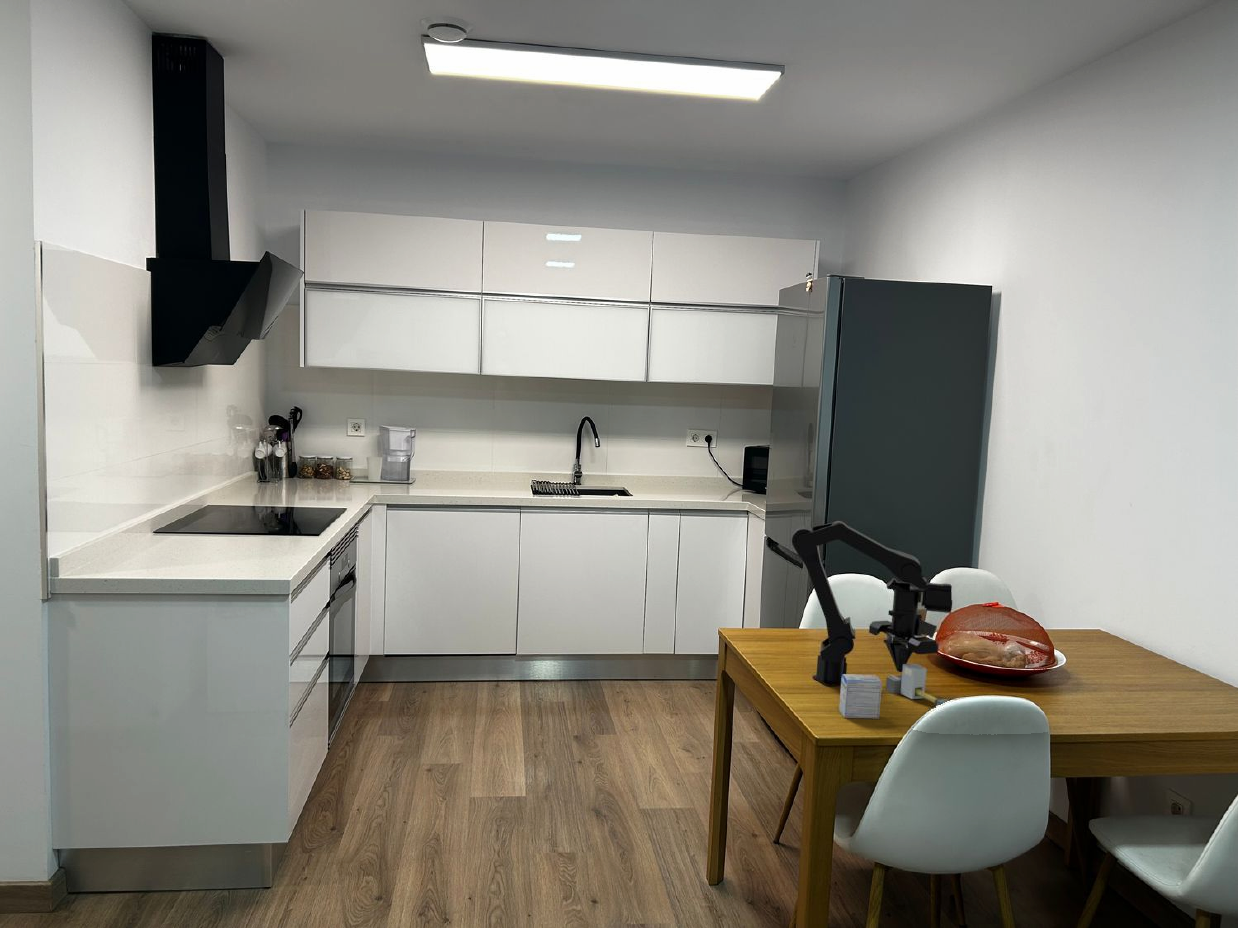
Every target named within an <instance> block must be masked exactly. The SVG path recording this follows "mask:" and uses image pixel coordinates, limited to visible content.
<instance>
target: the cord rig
mask: <svg viewBox="0 0 1238 928" xmlns="http://www.w3.org/2000/svg"><path fill="white" fill-rule="evenodd" d="M885 681H886V682H885V690H886V691H887V692H889V693H891V694H893V695H896V694H901V682H902V673H901V675H893V674H891V675H890V676H886V680H885ZM915 693H916V694H918V695H920V696H922V697H924V698H923V699H925V700H928V701H929V702H932V703H933V704H934V706H936V705H941V704H943V703H945V702H947V701H951V700H950V699H948V698H944V699H943V698H940V697H936V696H933V695H931V694H930V693H927V692H923V691H921V690H919V689H917V688H915Z"/></svg>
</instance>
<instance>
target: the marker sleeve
mask: <svg viewBox="0 0 1238 928" xmlns="http://www.w3.org/2000/svg"><path fill="white" fill-rule="evenodd" d="M901 674H902V682H901V693H900V694H901V695H903V696H904V697H907V698H908V699H910V700H915V699H916V700H917V699H925V698H924V697H922V696H920V695H918V694H916V693H915V688H917V689H919V690H921V691H923V692H925V690H926V682H927V668H926V667H924V666H922V665H920V664H917V663H915V662H913V663H907V664H903V671H902V672H901ZM925 693H926V692H925Z"/></svg>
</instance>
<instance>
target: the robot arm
mask: <svg viewBox="0 0 1238 928" xmlns="http://www.w3.org/2000/svg"><path fill="white" fill-rule="evenodd" d="M837 540H839V541H841V542H842V543H844V544H846V545H848V546H850V547H852V548H853V549H855V550H857V551H859V552H860V553H862V554H864V555H866V556H868V557H870V558H871V559H873V560H875V561H877V562H878V563H880V564H882V565H883V566H884V567H885V568H886V569H887V570H888V571H889V572H891V573H892V574H893V575H894V576H895V577H897V578H898V579H899V581H898V580H897V579H896V578H895V577H893V578H892V579H891V580H890V581H889V582H887V583H886V589H887V590H893V601H892V610H888V616H891V621H889V620H878V621H877V620H876V621H873V620H872V622H871V623H870V624H869V626H868V627H869V629H868V633H869V634H871V635H874V636H878V635H879V634H881V633H884V634H885V635H886V636H885V639H883V643H884V644H885V646H886V648H887V649H888V652H889V655H890V657H891V658H892V662H893V664H894V666H895V669H896V671H897V672H898V673H902V671H903V664H908V661H909V659H910V657H911V656H912V655H913V653H915V655H928V654H938V652H939V643H938V641H937V640H935V639H933V638H934V636H935V633H936V630H937V627H938V626H937V625H935V624H932V623H930V622H928V621H926V620H925V621H922V616H921V614H919V613H917V612H918V600H919V592H922V593H921V606H924V608H925V610H926V611H927V612H934V613H935V612H937V613H946V614H951V613H952V608H953V600H952V597H953V596H952V589H953V586H952V584H951V583H934V582H928V580H927V577H924V575H923V573H922V572H923V570H922V567H921V563H920V561H919V559H918V558H917V557H916V556H913V555H912V554H909V553H906V552H903V551H901V550H897V549H896V550H895V549H893V548H889V547H887V546H885V545H883V544H882V543H880V542H878V541H877V540H874V539H872V538H871V537H869V536H867V535H865V534H864V533H862V532H860V531H858V530H857V529H855V528H852V527H851V526H849V525H847V524H846V523H845V522H844V521H842V520H836V521H834V522H830V523H825V524H821V525H820V524H819V525H815V526H808V525H801V526H798V527H797V528H796V529H795V530H794V532H793V535H792V537H791V544H792V547H793V548H794V550H795V552H796V553H797V556H798V557H799V558H800V560H801V561H802V563H803V564H804V566H805V567H806V569H807V573H808V575H809V578H810V581H811V583H812V586H813V589H814V592H815V594H816V597H817V599H818V602H819V605H820V608H821V610H822V613H823V616H824V619H825V624H826V630H827V638H825V639H824V640H823V641H821V643H820V649H819V650H820V651H819V654H818V655H817V660H816V661H817V662H816V674H814V675H812V677H811V678H812V679H814V680H816V681H817V682H818V683H821V684H823V685H825V686H827V687H829V686H841V679H842V674H847V673H848V672H847V670H848V663H847V657H846V656H847V655H848V654H850V653H851V652H852V651H853V649H854V647H855V640H856V630H855V629H854V628H853V626H852V621H851V617H850V616H848V617H846V618H845V617H844V616H843V615H842V613H841V612H840V609H839V606H838V603H837V601H836V598H835V596H834V593H833V590H832V587H831V585H830V581H829V579H828V576H827V573H826V571H825V568H824V565H823V562H822V560H821V552H820V547H819V546H823V545H824V544H828V543H831V542H833V541H837ZM900 580H901V581H900ZM911 584H913V585H912V586H911ZM922 634H923V636H922ZM915 636H922V637H917V638H916V637H915ZM927 636H928V637H927Z"/></svg>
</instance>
